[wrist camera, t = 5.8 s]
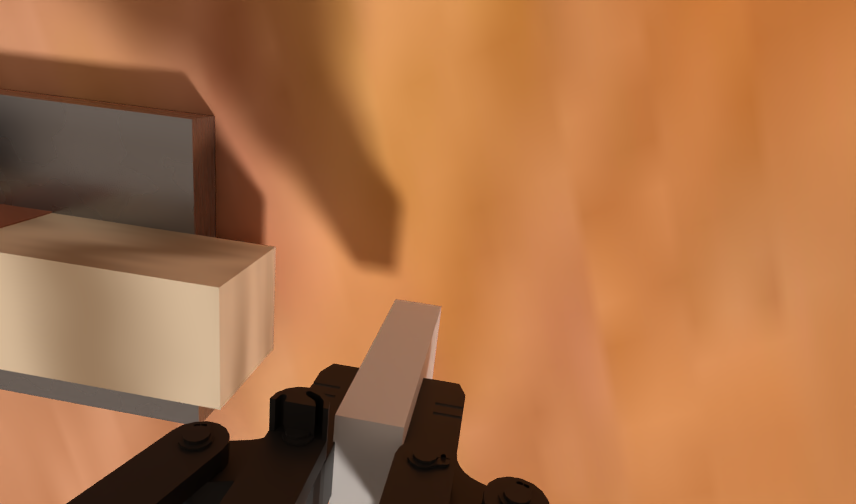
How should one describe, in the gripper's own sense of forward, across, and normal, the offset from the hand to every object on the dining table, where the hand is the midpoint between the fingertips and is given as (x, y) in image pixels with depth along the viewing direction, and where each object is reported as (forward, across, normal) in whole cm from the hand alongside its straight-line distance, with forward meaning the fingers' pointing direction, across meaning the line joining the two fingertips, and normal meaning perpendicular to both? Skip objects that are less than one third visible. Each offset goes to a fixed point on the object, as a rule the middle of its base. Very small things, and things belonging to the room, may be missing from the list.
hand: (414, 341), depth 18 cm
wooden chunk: (+1, +15, 0) cm, 15 cm away
